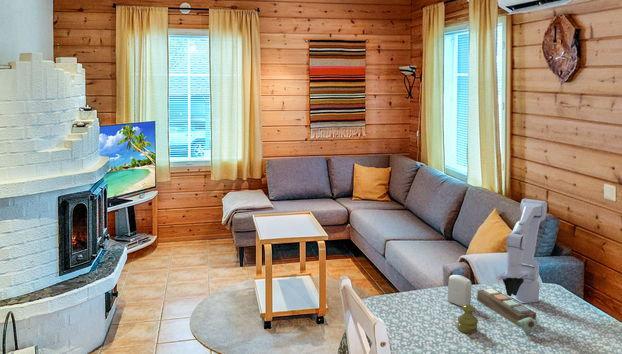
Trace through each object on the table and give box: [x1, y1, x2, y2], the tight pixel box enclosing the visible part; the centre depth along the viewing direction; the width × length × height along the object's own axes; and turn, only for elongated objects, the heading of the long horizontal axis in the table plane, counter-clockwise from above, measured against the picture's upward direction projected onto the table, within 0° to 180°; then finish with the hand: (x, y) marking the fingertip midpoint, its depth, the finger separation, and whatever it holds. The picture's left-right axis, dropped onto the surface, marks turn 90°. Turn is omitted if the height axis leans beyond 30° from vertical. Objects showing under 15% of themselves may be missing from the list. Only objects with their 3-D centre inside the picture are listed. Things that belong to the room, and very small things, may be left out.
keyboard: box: [476, 288, 537, 327], centre depth 240 cm, size 8×28×4 cm, turn 19°
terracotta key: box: [493, 293, 510, 301], centre depth 243 cm, size 4×4×2 cm
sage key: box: [503, 299, 520, 307], centre depth 237 cm, size 4×4×2 cm
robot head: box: [517, 317, 539, 335], centre depth 219 cm, size 8×4×7 cm, turn 96°
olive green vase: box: [456, 303, 479, 334], centre depth 222 cm, size 7×7×10 cm
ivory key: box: [483, 288, 500, 295], centre depth 249 cm, size 4×4×2 cm
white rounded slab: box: [447, 274, 472, 307], centre depth 247 cm, size 10×4×12 cm, turn 39°
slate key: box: [513, 305, 531, 314], centre depth 231 cm, size 4×4×2 cm
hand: (511, 295), depth 236 cm, fingers closed
